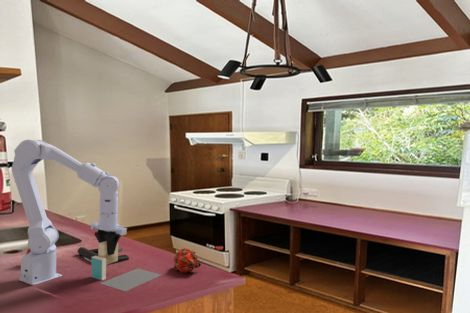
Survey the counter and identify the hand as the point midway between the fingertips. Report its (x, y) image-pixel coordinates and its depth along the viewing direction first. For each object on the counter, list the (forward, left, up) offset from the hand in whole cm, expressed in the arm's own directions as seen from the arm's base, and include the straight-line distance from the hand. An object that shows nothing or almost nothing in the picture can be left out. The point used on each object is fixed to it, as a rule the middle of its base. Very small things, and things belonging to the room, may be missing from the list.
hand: (107, 253), depth 117 cm
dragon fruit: (+18, -19, -8) cm, 27 cm away
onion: (-6, +29, -8) cm, 31 cm away
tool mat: (+2, -10, -7) cm, 12 cm away
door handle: (+13, +16, -8) cm, 22 cm away
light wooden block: (0, 0, -3) cm, 3 cm away
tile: (-4, 0, -4) cm, 5 cm away
